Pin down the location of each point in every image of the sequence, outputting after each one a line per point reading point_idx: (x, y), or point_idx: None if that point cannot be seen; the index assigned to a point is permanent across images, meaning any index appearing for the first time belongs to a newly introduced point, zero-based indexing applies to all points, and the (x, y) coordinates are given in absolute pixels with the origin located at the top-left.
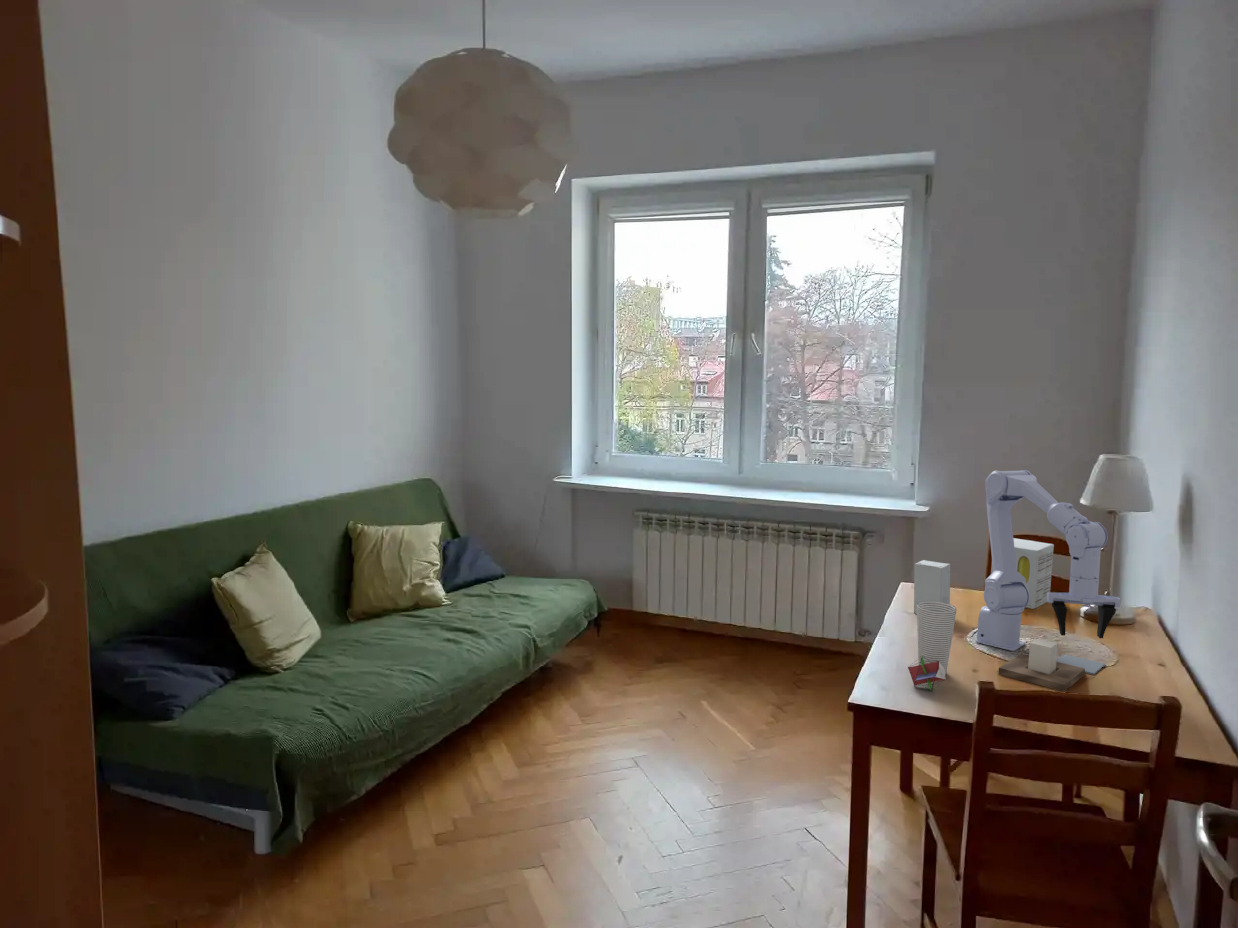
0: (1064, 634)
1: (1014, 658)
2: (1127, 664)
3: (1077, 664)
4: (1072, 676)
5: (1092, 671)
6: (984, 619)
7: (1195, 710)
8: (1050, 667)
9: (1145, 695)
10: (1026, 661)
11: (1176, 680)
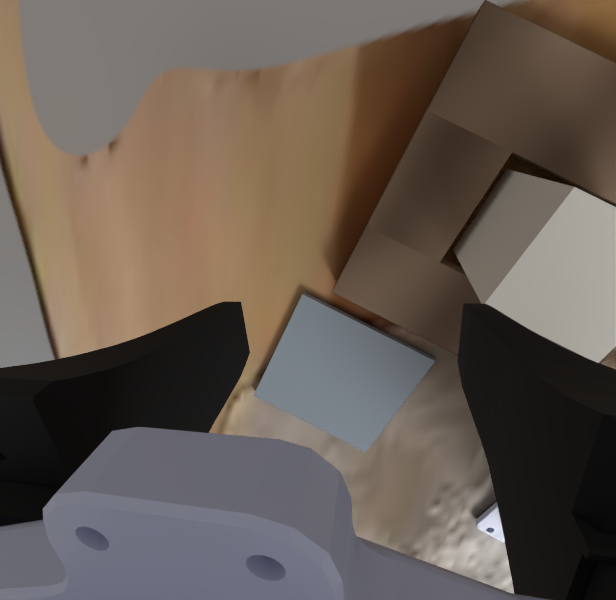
0: (470, 303)
1: None
2: None
3: (342, 367)
4: (408, 166)
5: (304, 311)
6: None
7: (11, 24)
8: (513, 189)
9: (156, 127)
10: None
11: (83, 317)
